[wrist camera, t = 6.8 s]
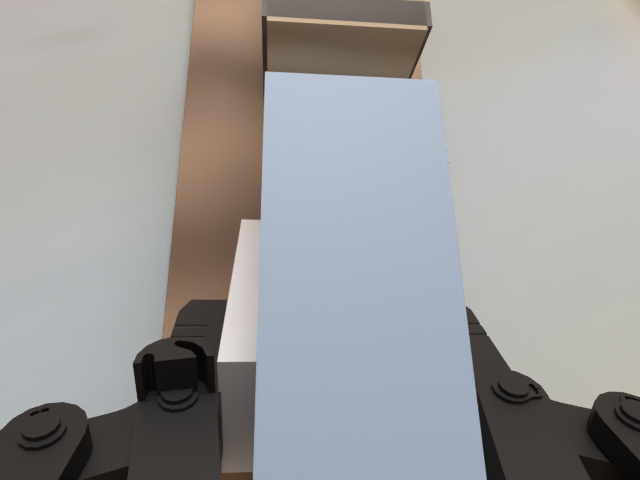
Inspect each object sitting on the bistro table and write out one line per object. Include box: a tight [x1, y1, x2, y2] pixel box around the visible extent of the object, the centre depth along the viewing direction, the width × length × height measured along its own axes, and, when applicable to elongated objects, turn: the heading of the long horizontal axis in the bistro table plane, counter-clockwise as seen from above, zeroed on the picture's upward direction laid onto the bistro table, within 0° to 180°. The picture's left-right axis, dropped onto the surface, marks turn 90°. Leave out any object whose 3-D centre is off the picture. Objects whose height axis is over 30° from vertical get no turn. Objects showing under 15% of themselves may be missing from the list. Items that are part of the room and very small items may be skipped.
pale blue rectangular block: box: [253, 72, 487, 480], centre depth 12 cm, size 7×3×10 cm, turn 1°
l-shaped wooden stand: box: [162, 0, 432, 480], centre depth 13 cm, size 29×10×11 cm, turn 1°
